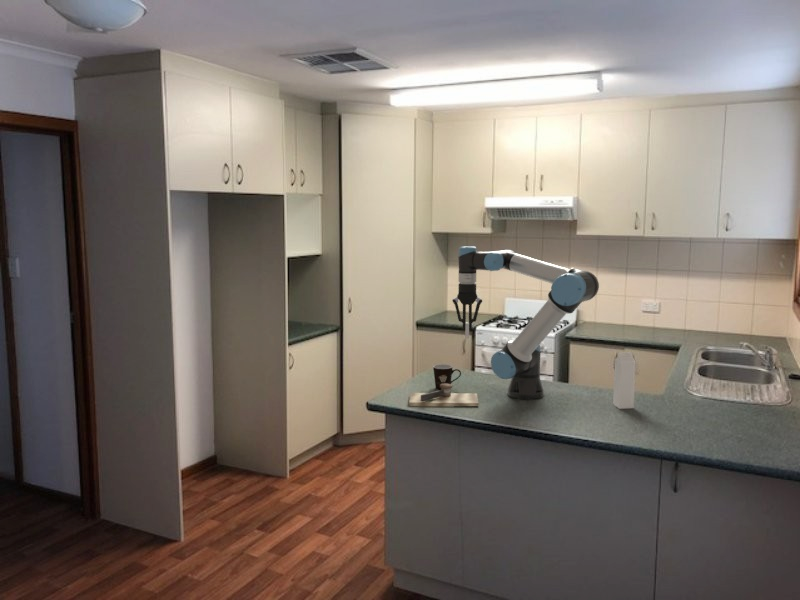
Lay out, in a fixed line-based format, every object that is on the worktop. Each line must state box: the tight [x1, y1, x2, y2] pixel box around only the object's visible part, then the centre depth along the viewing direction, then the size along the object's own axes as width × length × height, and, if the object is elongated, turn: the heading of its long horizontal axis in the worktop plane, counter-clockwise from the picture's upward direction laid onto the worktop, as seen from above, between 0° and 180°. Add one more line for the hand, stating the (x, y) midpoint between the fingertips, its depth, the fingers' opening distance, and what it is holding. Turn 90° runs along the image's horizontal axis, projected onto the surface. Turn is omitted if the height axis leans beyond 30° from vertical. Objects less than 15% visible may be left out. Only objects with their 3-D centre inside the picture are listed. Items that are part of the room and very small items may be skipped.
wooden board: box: [408, 392, 479, 407], centre depth 270 cm, size 28×14×2 cm, turn 86°
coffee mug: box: [432, 363, 462, 391], centre depth 288 cm, size 12×9×10 cm
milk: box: [612, 352, 637, 410], centre depth 260 cm, size 6×6×22 cm
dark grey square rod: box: [421, 383, 453, 402], centre depth 269 cm, size 5×17×4 cm, turn 131°
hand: (467, 337), depth 279 cm, fingers closed
